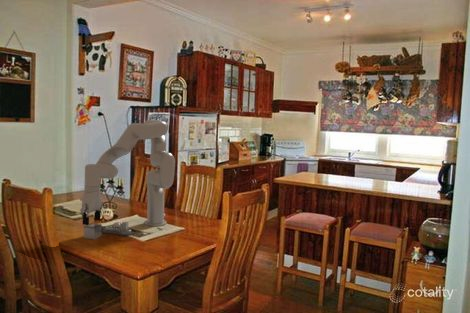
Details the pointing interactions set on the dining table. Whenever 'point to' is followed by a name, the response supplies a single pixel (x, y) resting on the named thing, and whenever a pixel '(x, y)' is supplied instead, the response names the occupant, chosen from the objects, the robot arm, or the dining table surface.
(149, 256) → the dining table surface
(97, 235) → the socket
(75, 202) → the dining table surface
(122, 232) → the ratchet
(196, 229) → the dining table surface
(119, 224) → the small socket
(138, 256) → the dining table surface
